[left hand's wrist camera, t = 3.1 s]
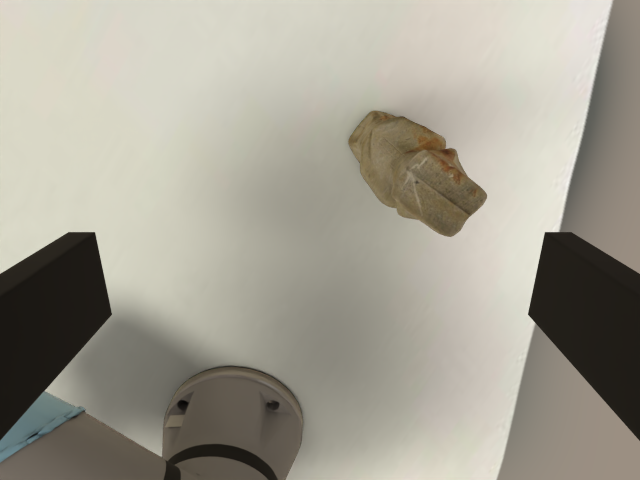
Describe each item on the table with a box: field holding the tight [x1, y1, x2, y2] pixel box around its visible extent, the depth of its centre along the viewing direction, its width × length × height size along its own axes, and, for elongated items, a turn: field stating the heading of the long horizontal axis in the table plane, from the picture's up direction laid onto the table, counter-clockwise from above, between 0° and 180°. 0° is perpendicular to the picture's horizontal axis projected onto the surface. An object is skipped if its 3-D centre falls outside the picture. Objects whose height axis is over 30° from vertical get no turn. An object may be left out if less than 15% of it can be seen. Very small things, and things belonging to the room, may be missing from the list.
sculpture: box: [348, 111, 487, 237], centre depth 30 cm, size 6×7×15 cm
